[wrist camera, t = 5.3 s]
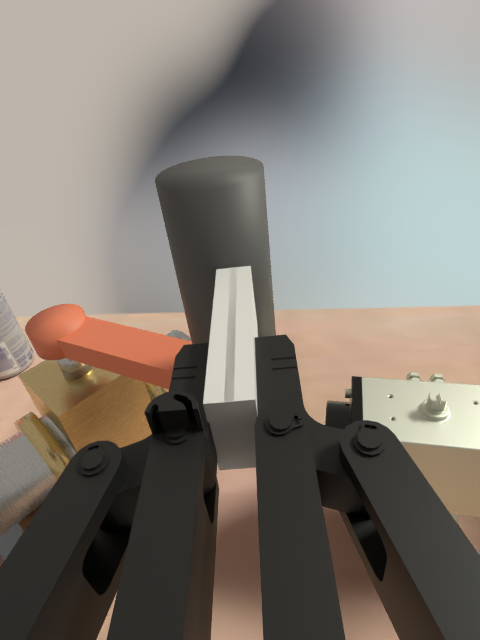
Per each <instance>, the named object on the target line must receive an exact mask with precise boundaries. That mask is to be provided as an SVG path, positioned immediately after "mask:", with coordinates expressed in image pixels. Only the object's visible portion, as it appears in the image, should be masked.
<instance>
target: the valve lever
mask: <svg viewBox="0 0 480 640" xmlns="http://www.w3.org/2000/svg"><path fill="white" fill-rule="evenodd" d="M264 181H265V180H264V167H263V164H262V162H260V161H259V160H257V159H254V158H250V157H243V156H217V157H208V158H202V159H196V160H192V161H187V162H184V163H180V164H177V165H175V166H172V167H170V168H168V169H166V170H164V171H162V172H161V173H160V174H158V175H157V177H156V178H155V183H156V187H157V192H158V196H159V200H160V205H161V209H162V213H163V218H164V222H165V227H166V231H167V236H168V240H169V244H170V249H171V253H172V258H173V262H174V266H175V271H176V275H177V279H178V284H179V288H180V293H181V297H182V301H183V306H184V310H185V315H186V319H187V323H188V328H189V332H190V336H191V341H187V340H183V339H179V338H175V337H170V336H166V335H162V334H158V333H154V332H149V331H145V330H141V329H137V328H132V327H128V326H124V325H120V324H116V323H111V322H107V321H103V320H99V319H95V318H90V317H86V315H85V313H84V310H83V309H82V308H81V307H80V306H78V305H74V304H62V305H57V306H53V307H50V308H47V309H45V310H43V311H41V312H39V313H38V314H36V315H35V316H33V317H32V318H31V319H30V320H29V321H28V323H27V325H26V327H25V331H26V333H27V335H28V337H29V339H30V341H31V343H32V345H33V347H34V349H35V350H36V352H37V354H38V356H39V357H41V358H42V359H45V360H60V359H64V358H66V359H70V360H73V361H76V362H80V363H83V364H86V365H90V366H93V367H96V368H100V369H103V370H106V371H110V372H113V373H116V374H120V375H123V376H126V377H130V378H133V379H136V380H139V381H143V382H146V383H149V384H153V385H156V386H159V387H163V388H166V389H169V387H170V382H171V377H172V371H173V366H174V361H175V356H176V355H177V353H178V352H179V351H180V349H181V348H182V347H183V345H188V344H199V343H209V339H210V329H211V319H212V309H213V299H214V289H215V279H216V269H225V268H234V267H244V266H251V273H252V282H253V291H254V300H255V308H256V317H257V327H258V337H266V336H276V331H275V318H274V304H273V291H272V276H271V265H270V264H271V263H270V249H269V235H268V221H267V208H266V194H265V182H264Z"/></svg>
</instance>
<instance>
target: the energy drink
mask: <svg viewBox="0 0 480 640" xmlns="http://www.w3.org/2000/svg"><path fill="white" fill-rule="evenodd" d="M33 358H34V352H33V350H32V348H31V346H30V344H29V342H28V340H27V339H26V337H25V335H24V333H23V331H22V329H21V327H20V325H19V323H18V322H17V320H16V318H15V316H14V314H13V312H12V310H11V308H10V306H9V305H8V303H7V301H6V299H5V297H4V296H3V293H2V291H1V289H0V379H7V378H11V377H14V376H16V375H18V374H20V373H21V372H23V371H24V370H26V369H27V368H28V367H29V366H30V364H31V363H32V361H33Z"/></svg>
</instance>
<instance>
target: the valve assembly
mask: <svg viewBox="0 0 480 640" xmlns="http://www.w3.org/2000/svg"><path fill="white" fill-rule="evenodd" d="M166 336H170V337H175V338H179V339H183V340H187V341H191V338H190V337H188V336H187V335H186V334H184V333H183V332H181V331H178V330H173V331H171V332H170V333H168V334H167V335H166ZM19 378H20V379H21V381H22V383H23V385H24V386H25V388H26V390H27V392H28V393H29V395H30V397H31V398H32V400H33V402H34V404H35V405H36V407H37V409H38V410H39V412H40V414H41V416H42V417H40V418H38V417H37V416H36V415H35V414H34V413H32V412H30V413H28V414H27V415H25V416H24V417H22V418H21V419H19V420H17V421H16V422H14V424H15V426H16V428H17V429H18V431H19V432H17V433H16V434H14V435H13V436H11V437H10V438H8V439H7V440H5V441H4V442H2V443H1V444H0V555H1V557H2V559H3V561H5V559H6V558H7V556H8V555H9V553H10V552H11V550H12V549H13V547H14V546H15V544H16V543H17V541H18V540H19V538H20V536H21V535H22V533H23V532H24V530H25V529H26V527H27V526H28V524H29V523H30V521H31V520H32V518H33V517H34V515H35V514H36V512H37V510H38V509H39V507H40V506H41V504H42V503H43V501H44V500H45V498H46V497H47V495H48V494H49V492H50V491H51V489H52V488H53V486H54V484H55V483H56V481H57V480H58V478H59V477H60V475H61V474H62V472H63V471H64V469H65V468H66V466H67V465H68V463H69V461H70V460H71V459H72V457H73V456H74V455H75V454H76V453H77V452H78V451H79V450H80V449H82V448H83V447H85V446H86V445H88V444H90V443H93V442H96V441H107V440H108V441H111V442H113V443H116V444H117V446H118V447H119V448H122V447H125V446H127V445H130V444H133V443H136V442H138V441H141V440H143V439H145V438H147V437H148V436H150V435H151V434H152V432H151V429H150V427H149V424H148V421H147V419H146V416H145V413H144V412H145V410H146V408H147V406H148V404H149V403H150V402H151V401H152V400H153V399H154V398H155V397H157V396H159V395H161V394H163V393H166V392H169V389H166V388H163V387H159V386H156V385H153V384H149V383H146V382H143V381H139V380H136V379H133V378H130V377H126V376H123V375H120V374H116V373H113V372H110V371H106V370H103V369H100V368H96V367H93V366H90V365H86V364H83V363H80V362H76V361H73V360H70V359H66V358H64V359H60V360H45V361H43V362H41V363H40V364H38V365H36V366H35V367H33V368H31V369H29V370H28V371H26V372H24V373H22V374H21V375H19Z"/></svg>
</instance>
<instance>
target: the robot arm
mask: <svg viewBox="0 0 480 640" xmlns="http://www.w3.org/2000/svg"><path fill="white" fill-rule="evenodd" d="M144 413H145V416H146V419H147V421H148V424H149V427H150V429H151V432H152V434H151V435H150V436H148V437H147V438H145V439H143V440H141V441H138V442H136V443H133V444H130V445H127V446H125V447H122V448H119V447H118V446H117V444H116V443H113V442H111V441H108V440H107V441H96V442H93V443H90V444H88V445H86V446H85V447H83V448H82V449H80V450H79V451H78V452H77V453H76V454H75V455H74V456H73V457H72V459H71V460H70V461H69V463H68V465H67V466H66V468H65V469H64V471H63V472H62V474H61V475H60V477H59V478H58V480H57V481H56V483H55V484H54V486H53V488H52V489H51V491H50V492H49V494H48V495H47V497H46V498H45V500H44V501H43V503H42V504H41V506H40V507H39V509H38V510H37V512H36V514H35V515H34V517H33V518H32V520H31V521H30V523H29V524H28V526H27V527H26V529H25V530H24V532H23V533H22V535H21V536H20V538H19V540H18V541H17V543H16V544H15V546H14V547H13V549H12V550H11V552H10V553H9V555H8V556H7V558H6V559H5V561H4V563H3V564H2V566H1V567H0V640H96V639H97V636H98V634H99V632H100V630H101V627H102V625H103V623H104V620H105V618H106V616H107V613H108V611H109V609H110V606H111V604H112V602H113V599H114V597H115V595H116V592H117V596H116V600H115V605H114V609H113V614H112V618H111V623H110V627H109V632H108V636H107V640H211V622H212V604H213V586H214V569H215V551H216V533H217V515H218V497H219V487H218V481H217V477H216V474H217V463H218V467H219V470H226V469H242V468H253V467H256V475H257V499H258V522H259V545H260V569H261V592H262V615H263V638H264V640H345V634H344V629H343V623H342V617H341V611H340V606H339V600H338V594H337V588H336V583H335V577H334V571H333V565H332V560H331V554H330V548H329V542H328V537H327V531H326V525H325V519H324V514H323V508H322V506H323V507H327V508H331V509H334V510H338V511H339V512H340V514H341V516H342V518H343V520H344V522H345V524H346V526H347V529H348V531H349V533H350V535H351V537H352V539H353V541H354V543H355V546H356V548H357V550H358V552H359V554H360V556H361V558H362V561H363V563H364V565H365V567H366V569H367V571H368V573H369V575H370V578H371V580H372V582H373V584H374V586H375V588H376V590H377V592H378V595H379V597H380V599H381V601H382V603H383V605H384V607H385V610H386V612H387V614H388V616H389V618H390V620H391V622H392V624H393V627H394V629H395V631H396V633H397V635H398V637H399V639H400V640H480V555H479V554H478V553H477V551H476V550H475V548H474V547H473V545H472V544H471V543H470V541H469V540H468V538H467V537H466V535H465V534H464V533H463V531H462V530H461V528H460V527H459V525H458V524H457V522H456V521H455V520H454V518H453V517H452V515H451V514H450V512H449V511H448V510H447V508H446V507H445V505H444V504H443V502H442V501H441V500H440V498H439V497H438V495H437V494H436V492H435V491H434V490H433V488H432V487H431V485H430V484H429V482H428V481H427V480H426V478H425V477H424V475H423V474H422V472H421V471H420V469H419V468H418V467H417V465H416V464H415V462H414V461H413V459H412V458H411V457H410V455H409V454H408V452H407V451H406V449H405V448H404V447H403V445H402V444H401V442H400V441H399V439H398V438H397V437H396V435H395V434H394V433H393V432H392V431H391V430H390V429H389V428H388V427H386V426H384V425H382V424H380V423H378V422H375V421H369V420H362V421H355V422H353V423H351V424H349V425H347V426H346V427H345V429H344V430H343V429H339V428H334V427H329V426H326V425H323V424H320V423H318V422H317V421H315V420H314V419H312V418H311V417H310V416H309V415H308V413H307V412H306V410H305V408H304V405H303V399H302V392H301V386H300V380H299V373H298V368H297V361H296V354H295V348H294V344H293V343H292V342H291V340H290V339H289V338H288V337H287V336H286V335H277V336H266V337H258V327H257V317H256V308H255V300H254V291H253V282H252V273H251V266H244V267H234V268H225V269H216V279H215V289H214V299H213V309H212V319H211V329H210V339H209V343H199V344H188V345H183V347H182V348H181V349H180V351H179V352H178V353H177V355H176V356H175V361H174V366H173V371H172V377H171V382H170V387H169V392H166V393H163V394H161V395H159V396H157V397H155V398H154V399H153V400H152V401H151V402H150V403H149V404H148V406H147V408H146V410H145V412H144ZM117 590H118V591H117Z"/></svg>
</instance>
